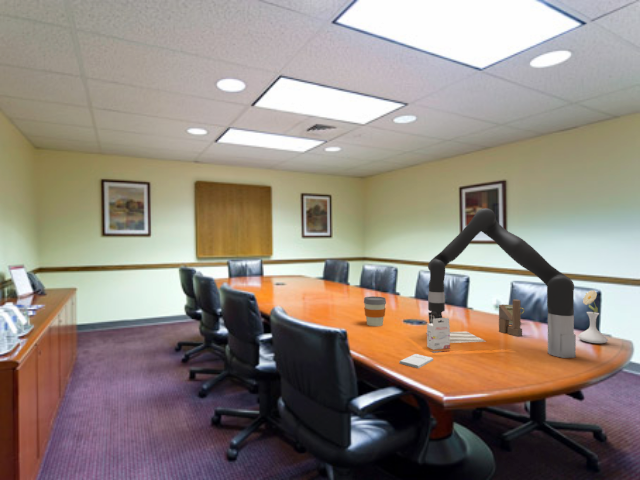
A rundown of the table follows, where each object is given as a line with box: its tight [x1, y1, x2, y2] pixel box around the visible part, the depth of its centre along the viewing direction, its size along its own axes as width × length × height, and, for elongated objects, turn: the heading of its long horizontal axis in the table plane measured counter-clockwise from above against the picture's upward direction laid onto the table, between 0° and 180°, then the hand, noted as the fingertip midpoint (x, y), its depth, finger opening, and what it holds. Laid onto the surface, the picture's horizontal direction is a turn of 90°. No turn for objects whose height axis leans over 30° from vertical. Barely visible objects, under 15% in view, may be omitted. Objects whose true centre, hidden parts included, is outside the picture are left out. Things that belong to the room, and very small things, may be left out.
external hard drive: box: [398, 353, 434, 369], centre depth 146 cm, size 2×8×12 cm
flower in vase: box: [578, 289, 609, 344], centre depth 173 cm, size 13×11×25 cm
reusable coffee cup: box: [363, 296, 387, 327], centre depth 210 cm, size 13×13×15 cm
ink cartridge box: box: [426, 317, 451, 354], centre depth 161 cm, size 9×5×15 cm, turn 105°
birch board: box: [425, 331, 487, 344], centre depth 177 cm, size 18×22×2 cm
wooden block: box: [498, 298, 523, 337], centre depth 189 cm, size 4×11×18 cm, turn 28°
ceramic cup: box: [503, 304, 525, 326], centre depth 211 cm, size 13×10×10 cm
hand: (436, 336), depth 176 cm, fingers closed on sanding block, 5 cm apart
